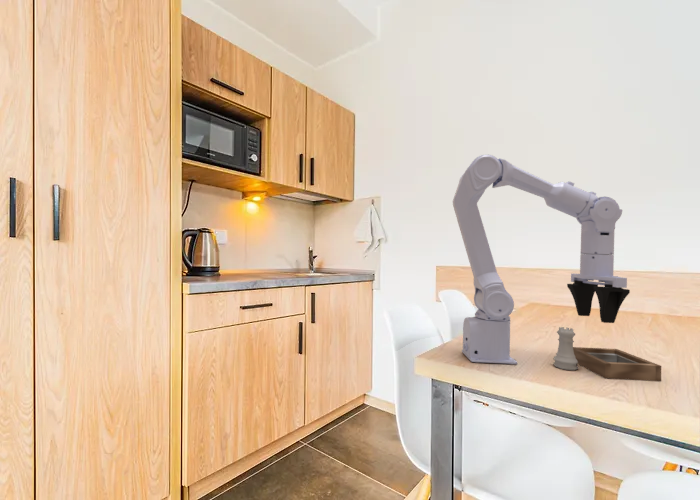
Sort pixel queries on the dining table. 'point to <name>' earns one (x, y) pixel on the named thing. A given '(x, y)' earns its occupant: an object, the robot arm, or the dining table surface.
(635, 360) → the box
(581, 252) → the robot arm
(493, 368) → the dining table surface
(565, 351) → the rook chess piece
